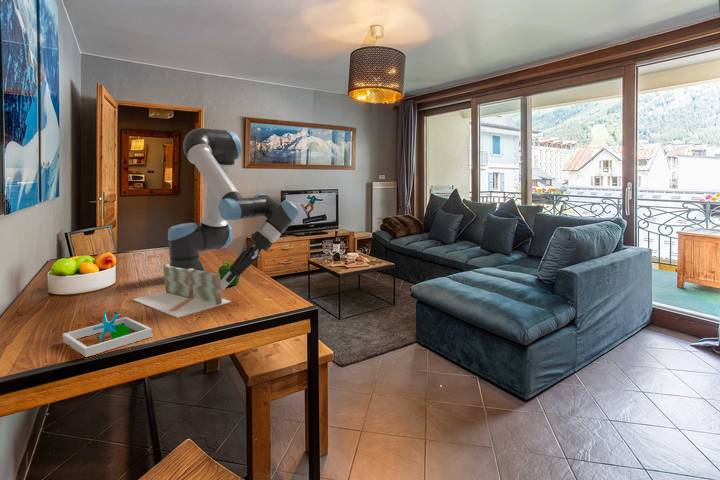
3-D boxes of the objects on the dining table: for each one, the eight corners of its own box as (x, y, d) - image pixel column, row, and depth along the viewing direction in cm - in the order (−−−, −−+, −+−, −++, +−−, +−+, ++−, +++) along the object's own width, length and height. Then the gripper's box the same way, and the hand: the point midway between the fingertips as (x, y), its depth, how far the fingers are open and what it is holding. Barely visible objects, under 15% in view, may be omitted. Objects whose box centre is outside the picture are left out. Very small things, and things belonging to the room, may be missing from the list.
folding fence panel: (192, 297, 137) (190, 270, 136) (197, 296, 139) (195, 269, 137) (218, 304, 130) (216, 275, 128) (223, 302, 131) (221, 274, 130)
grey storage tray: (63, 342, 102) (62, 333, 101) (127, 324, 114) (126, 316, 114) (86, 358, 92) (84, 348, 92) (152, 337, 105) (151, 328, 104)
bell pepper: (236, 281, 163) (235, 257, 161) (243, 285, 156) (242, 261, 154) (216, 284, 158) (214, 260, 156) (222, 288, 151) (220, 263, 150)
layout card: (132, 300, 138) (132, 298, 138) (183, 287, 153) (183, 286, 153) (177, 318, 119) (177, 316, 119) (230, 302, 134) (230, 300, 134)
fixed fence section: (197, 297, 139) (194, 268, 137) (191, 298, 137) (189, 270, 136) (169, 290, 148) (167, 263, 146) (164, 292, 146) (161, 264, 144)
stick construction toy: (84, 332, 103) (103, 306, 106) (104, 337, 109) (121, 312, 112) (115, 351, 99) (134, 323, 102) (134, 355, 105) (151, 329, 108)
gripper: (277, 246, 135) (231, 299, 130) (268, 241, 147) (225, 289, 141) (262, 232, 132) (214, 286, 127) (253, 228, 143) (208, 277, 138)
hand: (219, 288), depth 134 cm, fingers closed
